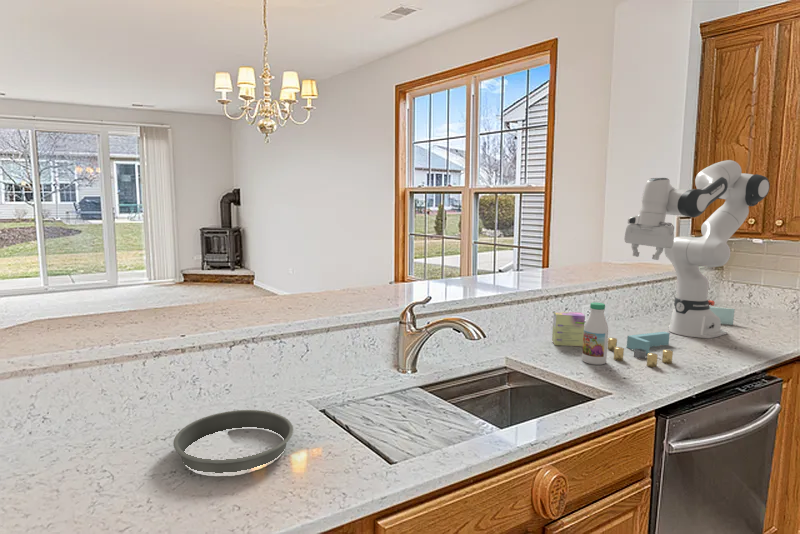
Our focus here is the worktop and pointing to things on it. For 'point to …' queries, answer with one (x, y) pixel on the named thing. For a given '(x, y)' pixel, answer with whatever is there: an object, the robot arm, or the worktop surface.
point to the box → (568, 328)
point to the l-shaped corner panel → (724, 314)
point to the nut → (640, 353)
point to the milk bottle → (595, 336)
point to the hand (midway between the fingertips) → (645, 258)
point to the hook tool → (647, 340)
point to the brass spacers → (650, 357)
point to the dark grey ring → (228, 422)
